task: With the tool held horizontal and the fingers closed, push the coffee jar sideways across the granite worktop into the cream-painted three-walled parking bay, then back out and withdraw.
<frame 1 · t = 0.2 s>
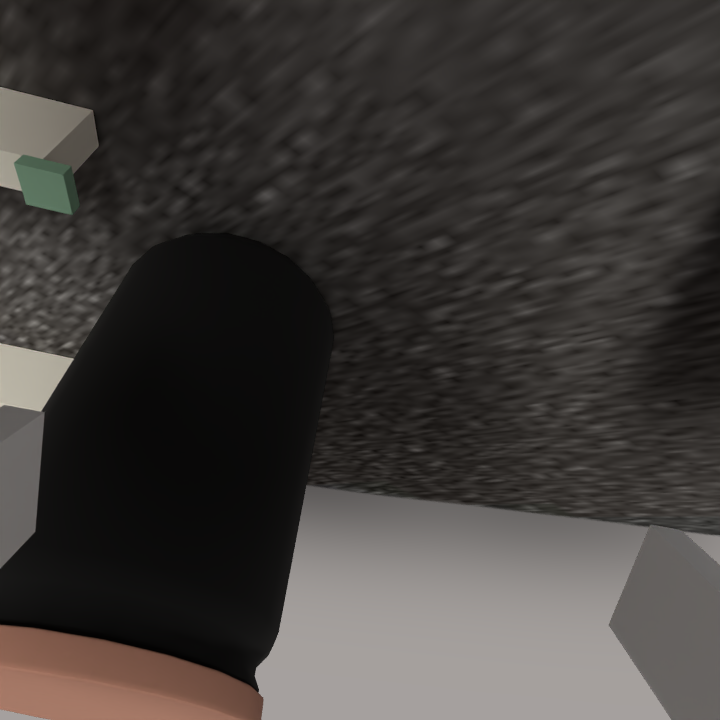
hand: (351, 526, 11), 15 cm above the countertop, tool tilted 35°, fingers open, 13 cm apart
coffee jar: (238, 304, 28), on the countertop
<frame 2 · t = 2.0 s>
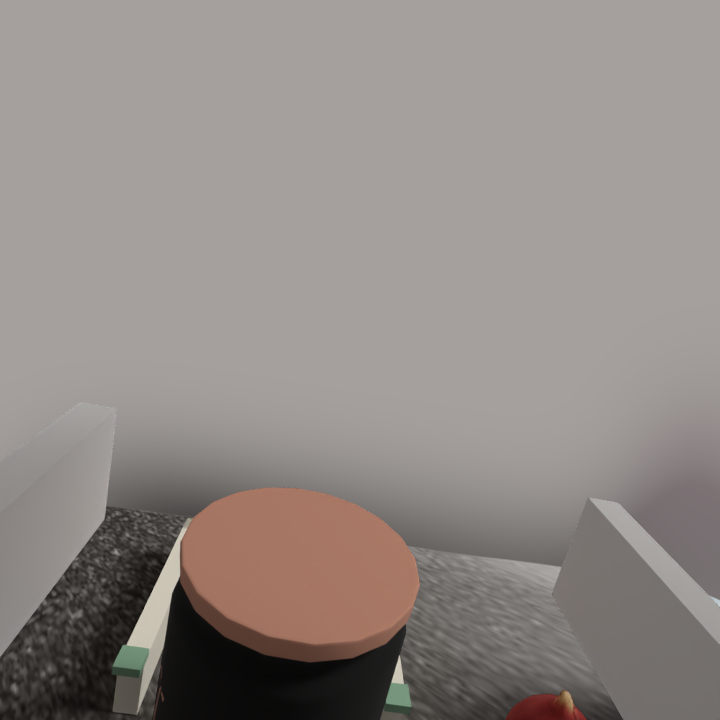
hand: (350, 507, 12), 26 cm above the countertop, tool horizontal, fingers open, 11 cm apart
parking bay: (268, 644, 41), on the countertop
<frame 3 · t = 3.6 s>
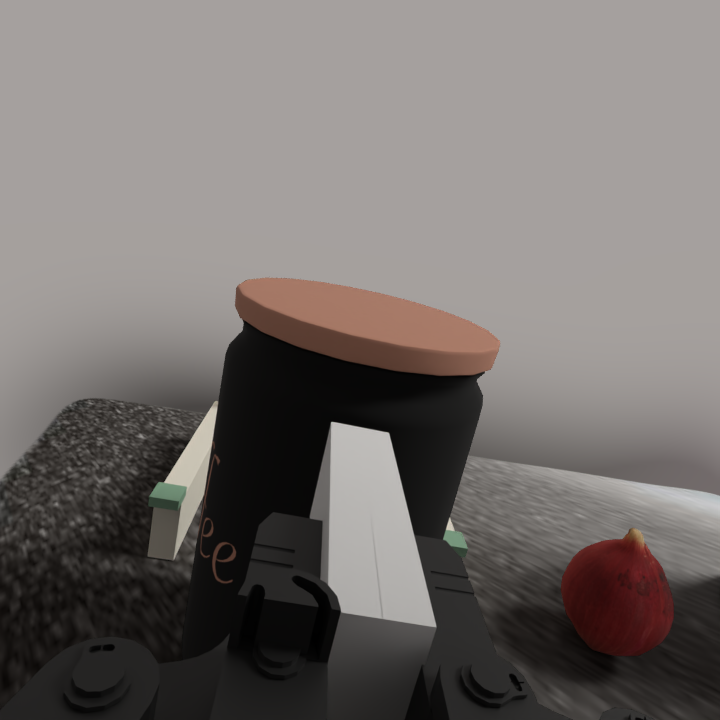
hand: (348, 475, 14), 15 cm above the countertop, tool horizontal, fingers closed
onion: (593, 650, 32), on the countertop
coffee jar: (290, 665, 26), on the countertop
parking bay: (306, 514, 38), on the countertop
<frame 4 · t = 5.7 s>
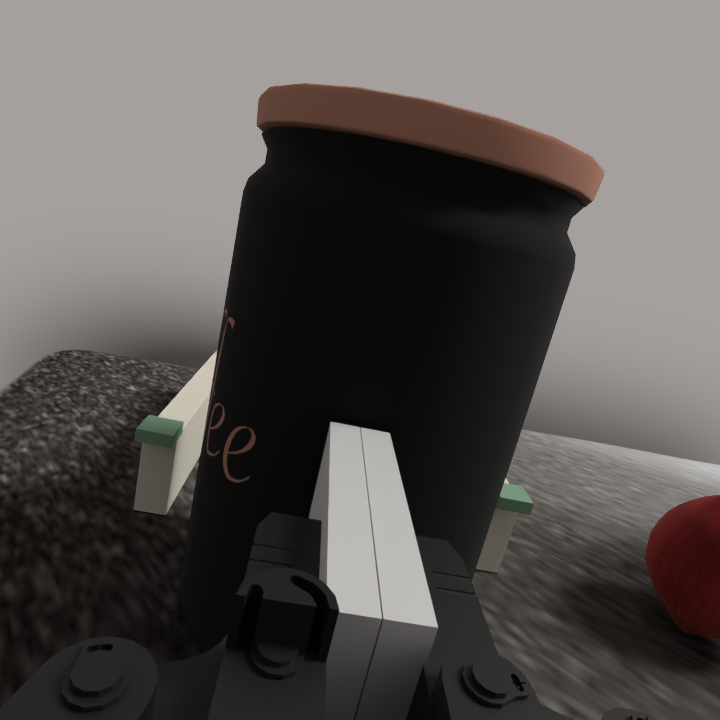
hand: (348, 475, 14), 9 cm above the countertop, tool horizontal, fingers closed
onion: (685, 634, 25), on the countertop
coffee jar: (313, 614, 21), on the countertop, touching gripper
parking bay: (325, 474, 32), on the countertop
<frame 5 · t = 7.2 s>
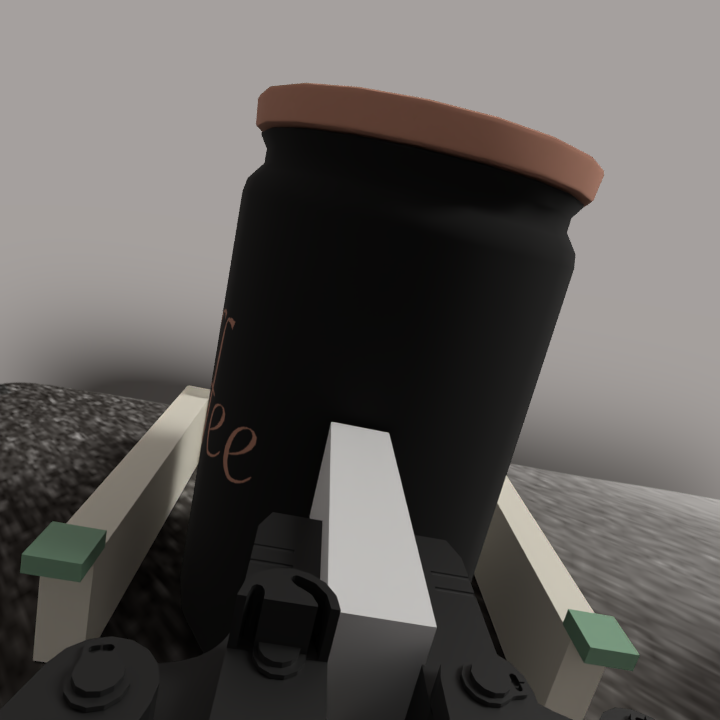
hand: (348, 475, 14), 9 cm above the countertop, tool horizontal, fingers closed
coffee jar: (313, 614, 21), on the countertop, touching gripper
parking bay: (323, 564, 24), on the countertop
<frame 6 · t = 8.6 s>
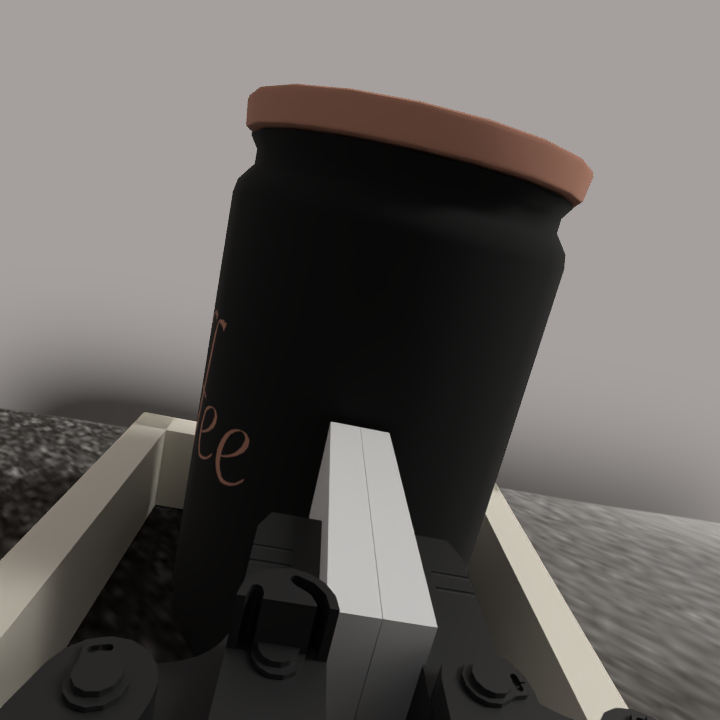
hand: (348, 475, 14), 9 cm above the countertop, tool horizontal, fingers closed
coffee jar: (306, 615, 21), on the countertop, touching gripper
parking bay: (297, 639, 20), on the countertop
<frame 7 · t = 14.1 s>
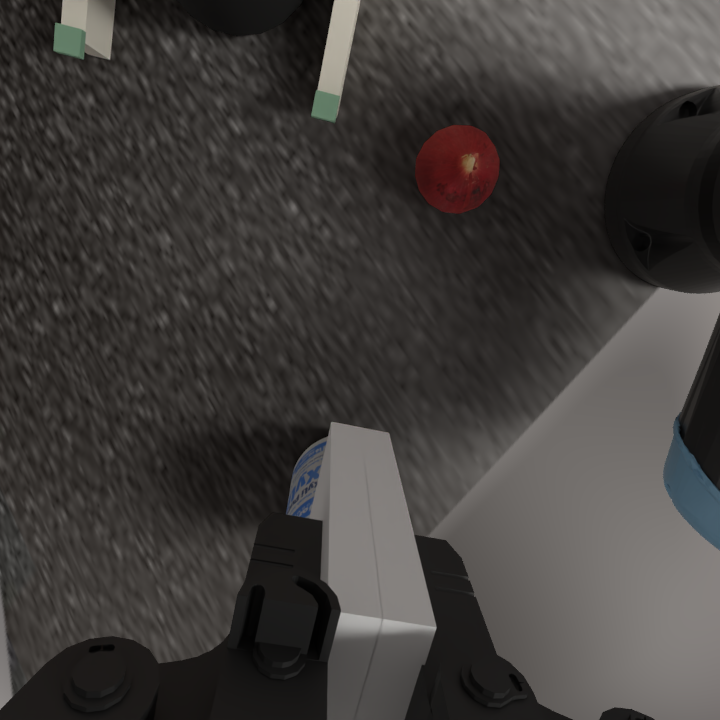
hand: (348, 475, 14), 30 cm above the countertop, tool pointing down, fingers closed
onion: (445, 174, 41), on the countertop
supplement tub: (345, 478, 47), on the countertop
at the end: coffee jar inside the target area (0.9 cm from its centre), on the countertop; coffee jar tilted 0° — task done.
